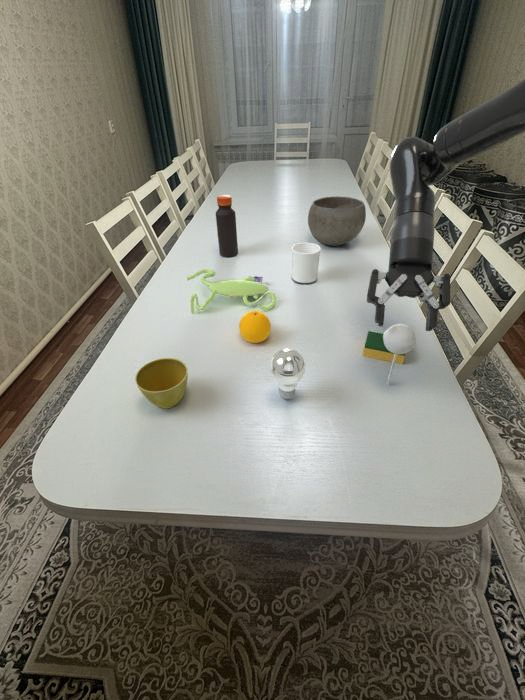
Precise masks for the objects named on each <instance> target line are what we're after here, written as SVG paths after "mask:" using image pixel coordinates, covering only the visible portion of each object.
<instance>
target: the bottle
mask: <svg viewBox="0 0 525 700" xmlns="http://www.w3.org/2000/svg"><path fill="white" fill-rule="evenodd" d="M216 204H217V206H218V208H217V210H216V211H215V221H216V230H217V231H216V232H217V242H218V251H219V255H220V256H221V257H223V258H234V257H235V256H237V255H238V254H239V248H238V246H239V244H238V232H237V230H238V229H237V215H236V210H235V209H234V208H233V207H232V205H233V198H232V196H231V195H229V194H221V195H218V196H217V197H216Z"/></svg>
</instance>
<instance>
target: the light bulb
mask: <svg viewBox="0 0 525 700" xmlns="http://www.w3.org/2000/svg"><path fill="white" fill-rule="evenodd" d="M306 369H307V366H306V360H305V358H304V356H303V355H302V354H301V353H300V352H298V350H296V349H292V348H282V349H280V350H278V351H277V352H275V353H274V355H273V356H272V358H271V359H270V361H269V372H270V374H271V378H273V380H274V381H275V382H276V383H277V387H278V395H279V397H280V398H281V399H284V400H290V399H293V398H294V397H295V395H296V388H297V386H298V383H299V382H300V381H301V380H302V379H303V378H304V376H305V374H306Z"/></svg>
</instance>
